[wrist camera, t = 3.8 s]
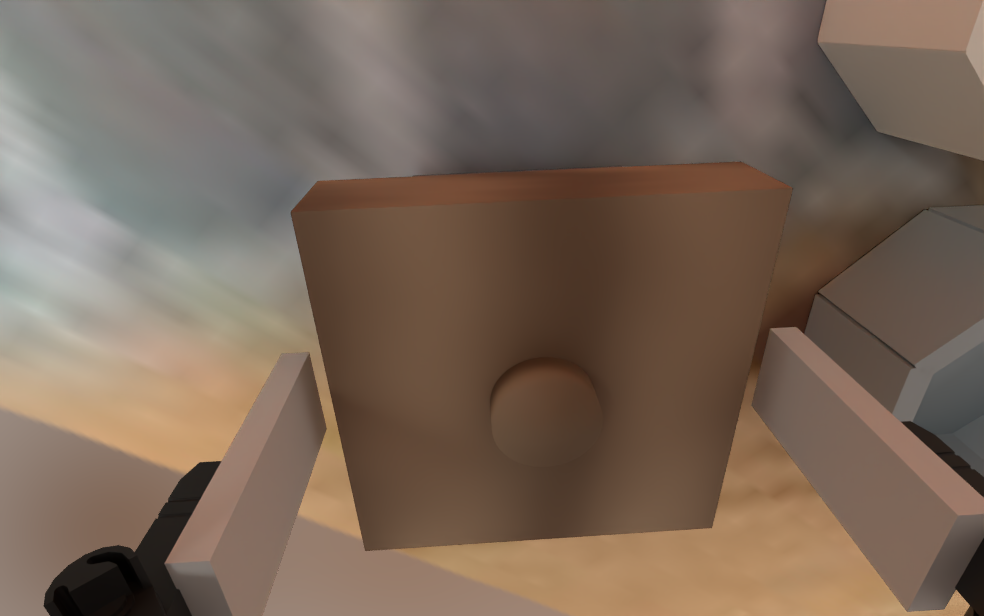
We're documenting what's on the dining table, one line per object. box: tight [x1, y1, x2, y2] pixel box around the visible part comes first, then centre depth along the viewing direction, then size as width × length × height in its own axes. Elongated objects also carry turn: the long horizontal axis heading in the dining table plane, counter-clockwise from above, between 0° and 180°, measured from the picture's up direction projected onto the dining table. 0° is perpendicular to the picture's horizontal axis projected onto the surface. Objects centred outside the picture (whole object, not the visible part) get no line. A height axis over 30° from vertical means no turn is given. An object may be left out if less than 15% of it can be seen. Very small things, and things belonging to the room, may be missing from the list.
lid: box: [291, 162, 793, 551], centre depth 15 cm, size 11×11×4 cm
